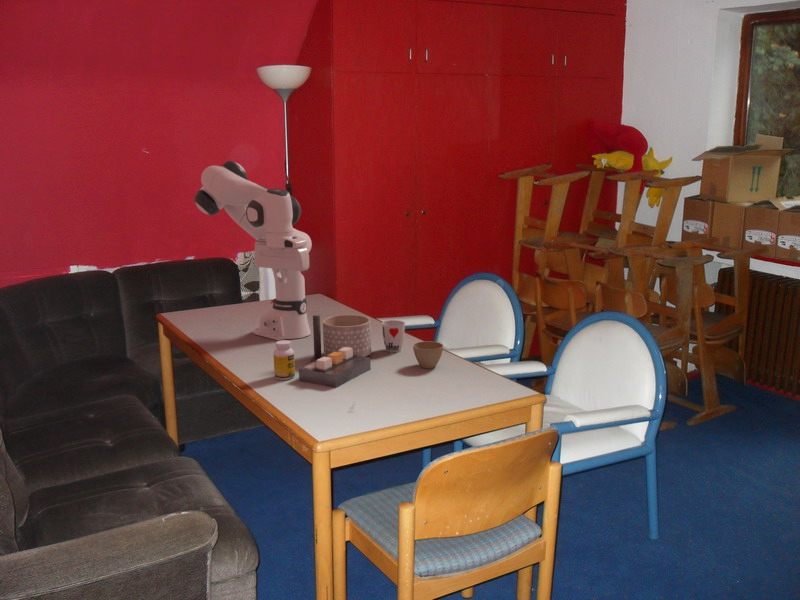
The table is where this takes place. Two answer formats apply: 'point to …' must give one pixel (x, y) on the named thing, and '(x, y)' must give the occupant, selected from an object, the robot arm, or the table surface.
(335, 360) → the orange block
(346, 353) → the pale pink brick
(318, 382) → the dark grey slotted tray
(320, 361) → the light pink block
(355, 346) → the planter
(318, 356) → the post
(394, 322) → the cup
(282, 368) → the pill bottle
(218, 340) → the table surface
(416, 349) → the flower pot
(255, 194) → the robot arm
